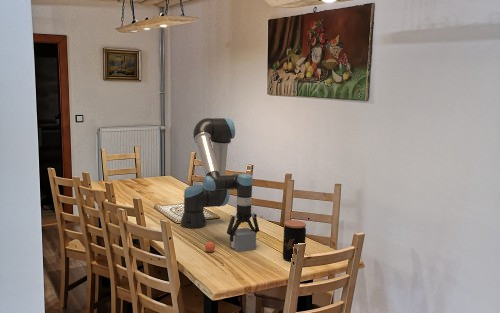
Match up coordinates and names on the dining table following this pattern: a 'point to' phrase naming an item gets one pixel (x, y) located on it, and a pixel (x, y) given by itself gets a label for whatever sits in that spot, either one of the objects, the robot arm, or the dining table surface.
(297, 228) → the coffee jar
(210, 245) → the ball
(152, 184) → the dining table surface
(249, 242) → the rounded grey cube
